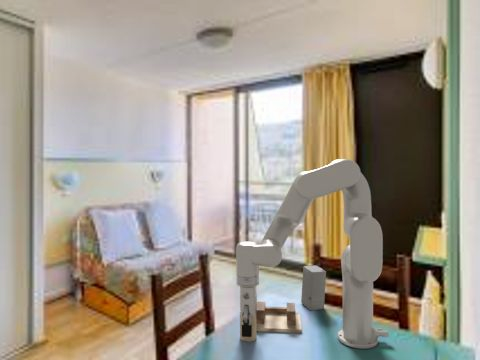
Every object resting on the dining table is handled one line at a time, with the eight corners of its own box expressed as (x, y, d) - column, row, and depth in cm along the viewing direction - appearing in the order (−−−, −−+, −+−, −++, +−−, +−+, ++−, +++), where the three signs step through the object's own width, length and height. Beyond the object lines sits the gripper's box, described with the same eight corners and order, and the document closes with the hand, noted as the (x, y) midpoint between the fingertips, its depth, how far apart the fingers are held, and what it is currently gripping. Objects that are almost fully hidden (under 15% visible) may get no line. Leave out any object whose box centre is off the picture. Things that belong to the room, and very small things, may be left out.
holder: (299, 315, 138) (299, 299, 138) (301, 333, 124) (301, 315, 124) (252, 314, 140) (252, 298, 140) (249, 330, 126) (249, 313, 126)
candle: (255, 342, 118) (254, 312, 117) (238, 341, 119) (238, 311, 119) (257, 334, 123) (257, 305, 123) (241, 333, 124) (241, 304, 124)
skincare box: (300, 303, 150) (300, 265, 149) (316, 301, 152) (316, 264, 151) (310, 311, 142) (310, 271, 141) (326, 308, 144) (326, 269, 143)
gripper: (257, 288, 111) (257, 342, 112) (260, 271, 128) (260, 318, 129) (233, 287, 112) (233, 341, 113) (239, 271, 129) (240, 318, 130)
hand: (248, 329), depth 121 cm, fingers open, 9 cm apart
